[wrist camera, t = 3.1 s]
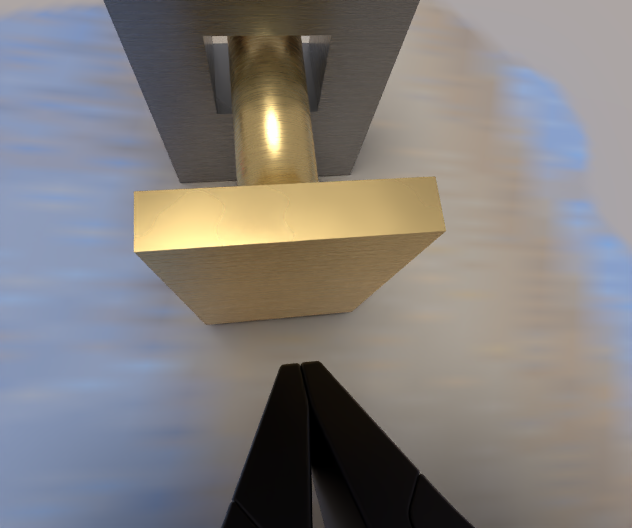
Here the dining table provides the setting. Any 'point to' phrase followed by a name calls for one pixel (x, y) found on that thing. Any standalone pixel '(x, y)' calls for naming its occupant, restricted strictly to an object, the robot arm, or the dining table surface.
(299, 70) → the brass pin
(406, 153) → the dining table surface
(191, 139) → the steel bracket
